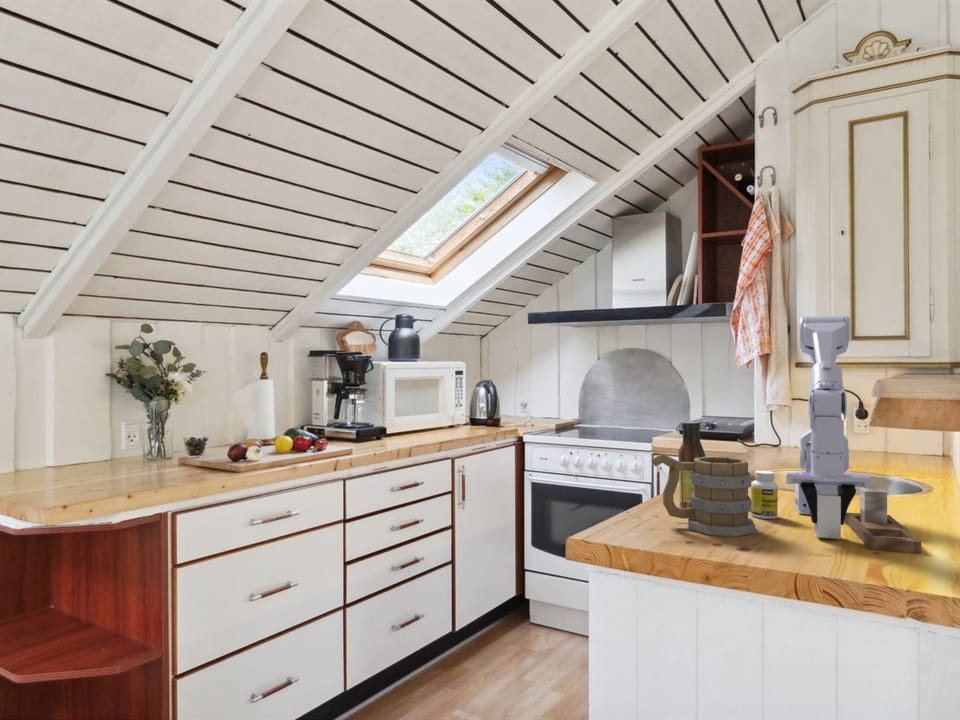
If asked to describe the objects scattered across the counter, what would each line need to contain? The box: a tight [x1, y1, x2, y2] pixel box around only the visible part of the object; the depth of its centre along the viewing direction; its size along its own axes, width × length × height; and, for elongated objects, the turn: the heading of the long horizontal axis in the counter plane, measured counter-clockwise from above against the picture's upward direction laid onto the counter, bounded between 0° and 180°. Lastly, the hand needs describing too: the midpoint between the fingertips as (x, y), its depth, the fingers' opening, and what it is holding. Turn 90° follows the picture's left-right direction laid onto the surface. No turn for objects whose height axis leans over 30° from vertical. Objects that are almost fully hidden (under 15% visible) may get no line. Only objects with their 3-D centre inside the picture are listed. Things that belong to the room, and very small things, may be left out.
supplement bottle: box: [750, 470, 779, 520], centre depth 153 cm, size 5×5×10 cm
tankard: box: [651, 452, 756, 538], centre depth 143 cm, size 20×13×15 cm, turn 74°
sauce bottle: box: [678, 421, 707, 508], centre depth 161 cm, size 7×6×20 cm
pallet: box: [845, 487, 922, 554], centre depth 136 cm, size 8×22×8 cm, turn 162°
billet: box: [813, 492, 842, 540], centre depth 135 cm, size 4×4×8 cm
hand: (827, 522), depth 135 cm, fingers closed on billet, 4 cm apart
